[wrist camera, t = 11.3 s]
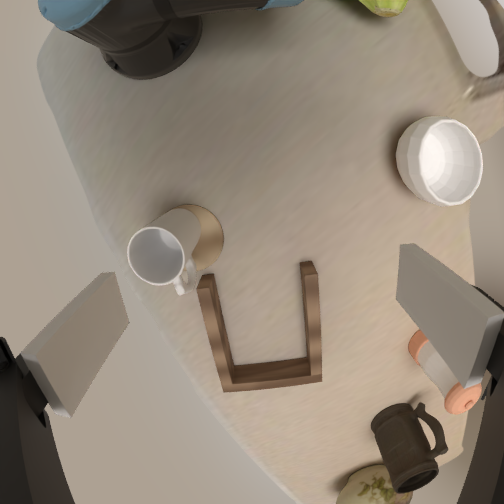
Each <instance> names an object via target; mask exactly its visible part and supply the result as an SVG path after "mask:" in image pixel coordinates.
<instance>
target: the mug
mask: <svg viewBox="0 0 504 504" xmlns="http://www.w3.org/2000/svg"><path fill="white" fill-rule="evenodd" d="M200 235H201V226H200V222H199V220H198V218H197V217H196V216H195V215H194V214H193V213H192V212H190V211H189V210H186V209H182V208H177V209H172V210H170V211H168V212H167V213H165V214H163V215H162V216H160V217H159V218H157V219H156V220H154V221H153V222H151V223H149V224H148V225H146V226H145V227H143V228H142V229H140V230H138V231H137V232H136V233H135V234H134V235H133V236H132V238H131V239H130V241H129V244H128V248H127V257H128V261H129V264H130V266H131V268H132V270H133V271H134V273H135V274H136V275H137V276H138V277H139V278H140V279H142V280H143V281H145V282H147V283H149V284H153V285H167V284H170V283H172V282H173V283H174V286H175V290H176V291H177V293H178V295H183V294H184V293H189V292H191V291H192V290H193V289H194V287H195V283H196V269H197V266H196V263H195V262H194V260H193V258H192V255H191V254H192V252H193V250H194V248H195V247H196V245H197V243H198V241H199V238H200ZM184 267H186V269H187V273H188V283H187V284H186V283H185V282H184V281H183V279H182V277H181V273H182V271H183V269H184Z"/></svg>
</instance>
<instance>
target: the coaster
mask: <svg viewBox="0 0 504 504" xmlns="http://www.w3.org/2000/svg"><path fill="white" fill-rule="evenodd" d="M177 208H182V209H186V210H189V211H190V212H192V213H193V214H194V215H195V216H196V217H197V218H198V220H199V222H200V226H201V235H200V238H199V241H198V243H197V245H196V247H195V248H194V250H193V252H192V254H191V255H192V258H193V260H194V262H195V263H196V266H197V269H196V271H199V270H203V269H205V268H207V267H209V266H210V265H212V264H213V263H214V262H215V261H216V260H217V258H218V257H219V255H220V253H221V251H222V247H223V242H224V236H223V231H222V227H221V225H220V223H219V221H218V220H217V218H216V217H215V216H214V215H213V214H212V213H211V212H210V211H208V210H206V209H205V208H203V207H200V206H197V205H181V206H178V207H175V208H174V209H177ZM183 270H184V271H187V269H186V267H184V269H183Z"/></svg>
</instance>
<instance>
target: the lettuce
mask: <svg viewBox="0 0 504 504" xmlns="http://www.w3.org/2000/svg"><path fill="white" fill-rule="evenodd" d="M359 1H360V2H361V3H363V4H364V5H365V6H366V7H367V8H368V9H369V10H370V11H371V12H373V13H375V14H377V15H379V16H384V17H393V16H397V15H399V14H400V13H401V12H402V11H403V9H404V8H405V6H406V3H407V1H408V0H359Z"/></svg>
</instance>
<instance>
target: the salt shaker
mask: <svg viewBox="0 0 504 504" xmlns="http://www.w3.org/2000/svg"><path fill="white" fill-rule="evenodd" d="M408 348H409V352H410V354H411V355H412V357H413V358H414V360H415V361H416V363H417V364H418V365H420V366H421V367H422V369H423V371H424V372H425V374H426V375H427V376H428V377H429V378H430V379H431V380H432V381H433V382H434V383H435V384H436V385H437V387H438V388H439V390H440V391H441V393H442V394H443V396H444V398H445V409H446V410H447V411H448V412H449V413H451V414H455V415H456V414H461V413H463V412H465V411H467V410H468V409H470V408H472V407H473V405H474V404H475V403H476V402H477V400H478V399H479V397H480V395H481V389H482V388H481V387H482V386H481V383H479V384H476V385H474V386H471V387H468V388H466V389H464V388H463V387H462V385H461V384H460V382H459V381H458V380H457V378H456V377H455V375H454V374H453V372H452V371H451V370H450V368H449V367H448V366H447V364H446V363H445V361H444V360H443V359H442V357H441V356H440V355H439V353H438V352H437V351H436V349H435V348H434V347H433V345H432V344H431V343H430V341H429V340H428V339H427V337H426V336H425V335H424V334H423V332H422V331H421V330H419V331H417V332H416V333H415V334H414V336H413V337H412V338H411V340H410V342H409V347H408Z"/></svg>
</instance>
